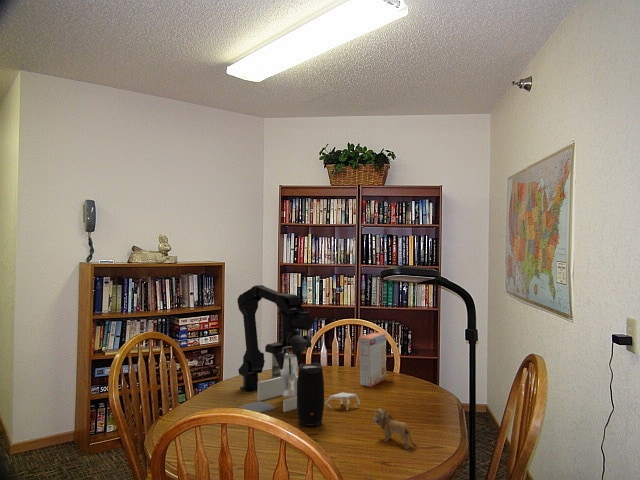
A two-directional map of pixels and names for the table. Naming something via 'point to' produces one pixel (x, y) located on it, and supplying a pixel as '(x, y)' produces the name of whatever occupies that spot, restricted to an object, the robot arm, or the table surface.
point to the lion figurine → (392, 426)
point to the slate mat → (258, 407)
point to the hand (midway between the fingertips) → (288, 368)
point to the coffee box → (276, 364)
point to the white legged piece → (343, 396)
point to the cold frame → (275, 392)
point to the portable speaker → (310, 394)
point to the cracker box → (372, 359)
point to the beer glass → (289, 375)
